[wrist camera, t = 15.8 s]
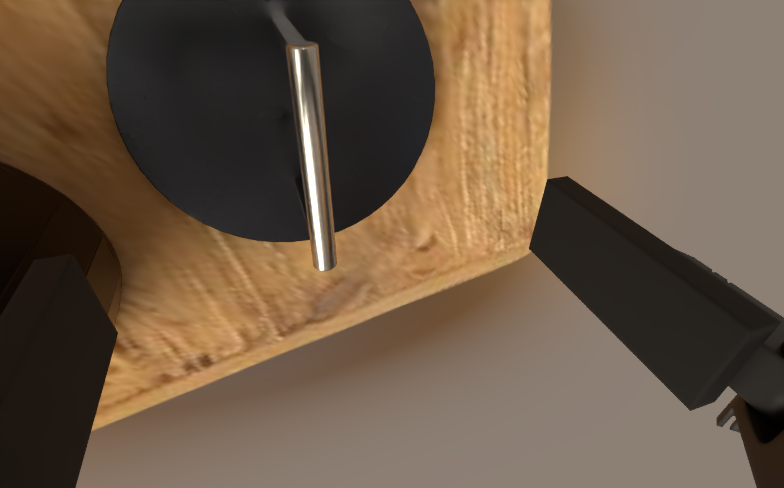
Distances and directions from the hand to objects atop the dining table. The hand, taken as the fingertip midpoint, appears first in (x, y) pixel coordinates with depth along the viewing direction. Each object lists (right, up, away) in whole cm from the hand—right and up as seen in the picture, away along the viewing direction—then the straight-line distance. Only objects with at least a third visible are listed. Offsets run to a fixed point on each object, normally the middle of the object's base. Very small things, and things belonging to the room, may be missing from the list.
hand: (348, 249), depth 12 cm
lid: (-4, +7, +9) cm, 12 cm away
